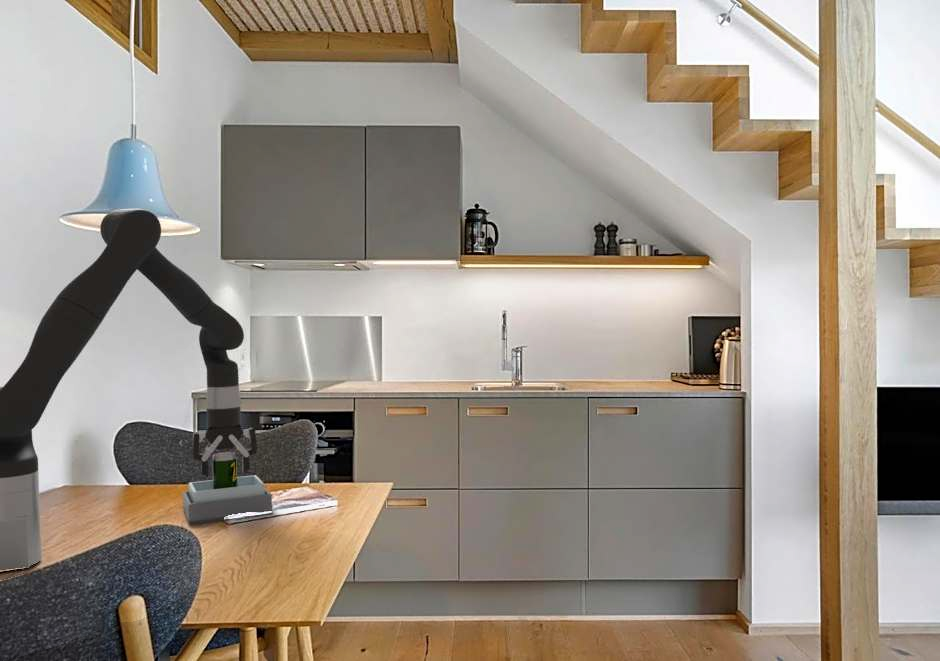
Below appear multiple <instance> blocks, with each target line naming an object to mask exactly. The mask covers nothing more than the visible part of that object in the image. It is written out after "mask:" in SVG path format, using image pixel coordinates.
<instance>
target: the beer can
mask: <svg viewBox="0 0 940 661" xmlns="http://www.w3.org/2000/svg"><path fill="white" fill-rule="evenodd" d="M237 463H238V462H237V457H236V452H230V451H229V452H227V451H226V452H219V453H214V454H213V455H212V459H211V464H212V480H213V489H221V488H230V487H237V477H238V468H237V466H238V465H237Z"/></svg>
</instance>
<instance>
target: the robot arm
mask: <svg viewBox="0 0 940 661" xmlns="http://www.w3.org/2000/svg"><path fill="white" fill-rule="evenodd" d="M99 228H100V235H101V238H102V240H103V241H104V243H105V245H106V246H105V248H104V249H103V250H102V252H101V254H100V255H99V257H98V258H97V259H96V260H95V261H93V263H92V264H91V265H89V266H88V267H86V269H85V270H83V271H82V272H81V273H79V275H77V276H76V277H75V278H73V280H71V281H70V282H69V283H68V284H67V285H66V286H64V288H62V290H61V291H60V292H59V294H58V295H57V296H56V298H55V299H54V300H53V302H52V303H51V305H50V306H49V307H48V309H47V310H46V312H45V313H44V315H43V316H42V318H41V319H40V322H39V324H38V326H37V328H36V330H35V333H34V336H33V339H32V341H31V344H30V347H29V349H28V351H27V354H26V356H25V358H24V359H23V361H22V363H21V364H20V365H19V366H18V368H17V369H16V371H15V372H14V373H13V374H12V376H11V377H10V378H9V380H8V381H7V382H6V383H5V384H4V385H2V386H0V570H6V569H15V568H23V567H26V568H28V567H30V566H31V565H33V564H36V563H38V562H39V561H40V562H42V560H41V559H43V558H42V538H41V537H42V536H41V535H42V534H41V512H40V511H41V510H40V488H39V487H40V481H39V479H40V478H39V459H38V455H37V453H36V451H35V447H34V443H33V442H34V441H33V429H34V428H36V426H37V425H38V424H39V422H40V421H41V418H42V416H43V415H44V412H45V410H46V408H47V407H48V404H49V402H50V400H51V399H52V397H53V394H54V393H55V391H56V389H57V387H58V386H59V383H60V382H61V381H62V379H63V377H64V375H65V374H66V373H67V372H68V371H69V369H70V368H71V366H72V365H73V364H74V362H75V361H76V360H77V359H78V357H79V356H80V354H81V353H82V351H83V350H84V348H86V346H87V344H88V342H90V340H92V337H93V336H94V335H95V333H96V331H97V330H98V329H99V326H100V325H102V323H103V321H104V319H105V317H106V315H107V314H108V312H109V311H110V309H111V308H112V306H113V305H114V304H115V302H116V301H117V299H118V297H119V296H120V294H121V292H122V291H123V289H124V288H125V287H126V285H127V283H128V282H129V280H130V279H131V278H132V276H133V275H134V274H135V272H136V271H138V272H139V273H141V275H143V276H144V277H145V279H147V280H148V281H149V282H150V283H152V284H153V285H154V286H155V287H156V289H158V290H159V291H160V292H161V293H162V295H164V296H165V297H166V299H167V300H168V301H169V302H170V303H171V304H172V306H173V307H175V309H176V310H177V311H178V312H179V313H180V314H181V316H183V317H184V319H185V320H186V321H187V322H188V323H190V324H192V325H194V326H198V327H201V328H200V330H199V333H198V334H199V335H198V342H199V343H198V344H199V347H200V351H201V354H202V358H203V361H204V365H205V368H206V394H205V395H206V396H205V397H206V400H205V401H206V431H205V432H198V431H193V432H192V445H191V446H192V447H191V457H192V458H193V459H194V460H197V461H200V473H201V474H202V476H204V478H209V461H208V459H209V457H210V456H211V455H212V454H213V453H214V451H215V450H217V451H222V450H225V449H227V450H232V449H234V448H236V449H237V450H238V451H239V452H240V453H241V454H242V456H241V472H242V474H247V472H248V471H249V470H250V457H251V456H252V455H254V454H257V453H258V447H257V437H256V436H257V435H256V430H255V428H253V427H248V428H246V429H243V428H242V413H241V404H242V401H241V392H240V386H239V385H240V383H239V381H240V380H239V379H240V378H239V367H238V365H239V364H238V363H237V362H236V361H234V360H231V359H230V358H229V356H228V352H227V351H232V350H235V349H238V348H240V346H242V345H243V342H244V339H245V334H244V333H245V332H244V329H243V327H242V325H241V323H240V322H239V321H238V319H236V318H235V317H234V316H233V315H231V314H230V313H229V312H228V311H226V310H225V309H224V308H223V307H221V306H220V305H219V304H217V303H216V302H214V301H213V300H212V299H211V297H210V296H209V295H208V293H206V291H205V290H204V289H203V287H202V286H200V285H199V283H198V282H197V281H195V279H193V277H191V276H190V274H189V275H188V273H186V272H185V271H184V270H182V268H181V269H180V268H179V267H178V266H177V265H176V264H174V263H173V262H171V261H170V259H168V258H167V257H165V255H164V254H162V252H160V250H159V249H157V246H158V244H159V241H160V239H161V235H162V225H161V223H160V220H159V218H158V216H156V214H154V213H153V212H151V211H150V210H146V209H142V208H123V209H122V208H120V209H116V210H112V211H110V212H107V213H106V215H105V216H104V217H103V218H102V220H101V222H100V227H99ZM244 435H245V437H246V438H248V442H249V449H246V448H245V447H244V446H243V444H242V443H241V442H240V440H241V439H242V437H243V436H244ZM204 438H205V439H206V440H207V441H208V442H209V443H208V444H207V445H206V447H205V449H204V450H203V452H202V453H199V451H200V443H203V439H204ZM40 562H39V563H40ZM39 563H38V564H39ZM36 565H37V564H36ZM33 566H34V565H33ZM31 567H32V566H31Z"/></svg>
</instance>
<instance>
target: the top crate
mask: <svg viewBox="0 0 940 661" xmlns="http://www.w3.org/2000/svg"><path fill="white" fill-rule="evenodd" d="M265 488H266V487H265V483H264V482H263V481H262V479H260V478H259V477H258V476H257V475H256V474H254V475H245V476H237V487H230V488H221V489H213V479H210V480H209V479H208V480H200V481H191V482H188V491H189V500H190V503H191V504H193V503H201V502H209V501H217V500H225V499H233V498H241V497H249V496H257V495H265Z"/></svg>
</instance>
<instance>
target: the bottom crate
mask: <svg viewBox="0 0 940 661" xmlns="http://www.w3.org/2000/svg"><path fill="white" fill-rule="evenodd" d="M272 497H273V495H272V493H271V492H270V491H269V490H268V488H266V487H265V495H257V496H249V497H241V498H233V499H225V500H217V501H209V502H201V503H193V504H191V503H190V500H189V490H187V491H182V507H183V508H182V509H183V514H184V516H185V518H186V521H187V524H188V525H189V526H193V525H199V524H205V523H206V524H207V523H213V522H219V521H220V522H221V521H225V520H224V517H225V516H228V515H232V514H238V513H246V512H264V511H272V512H273V500H272V499H273V498H272Z"/></svg>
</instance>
